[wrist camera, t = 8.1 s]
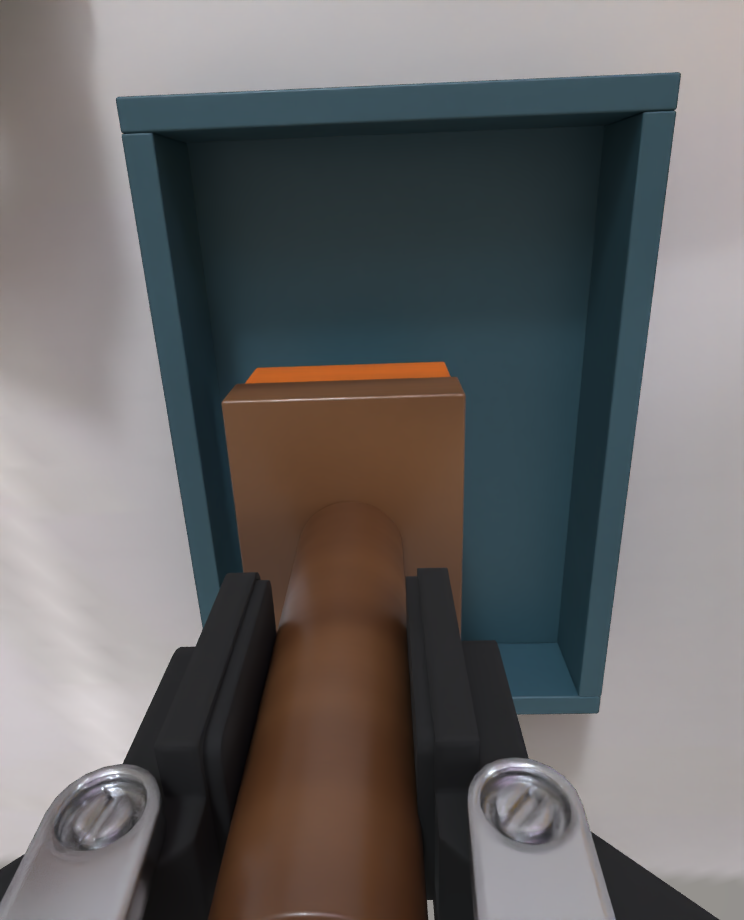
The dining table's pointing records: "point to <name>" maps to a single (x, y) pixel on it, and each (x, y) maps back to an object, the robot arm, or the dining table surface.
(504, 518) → the tray
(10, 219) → the dining table surface
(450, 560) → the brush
